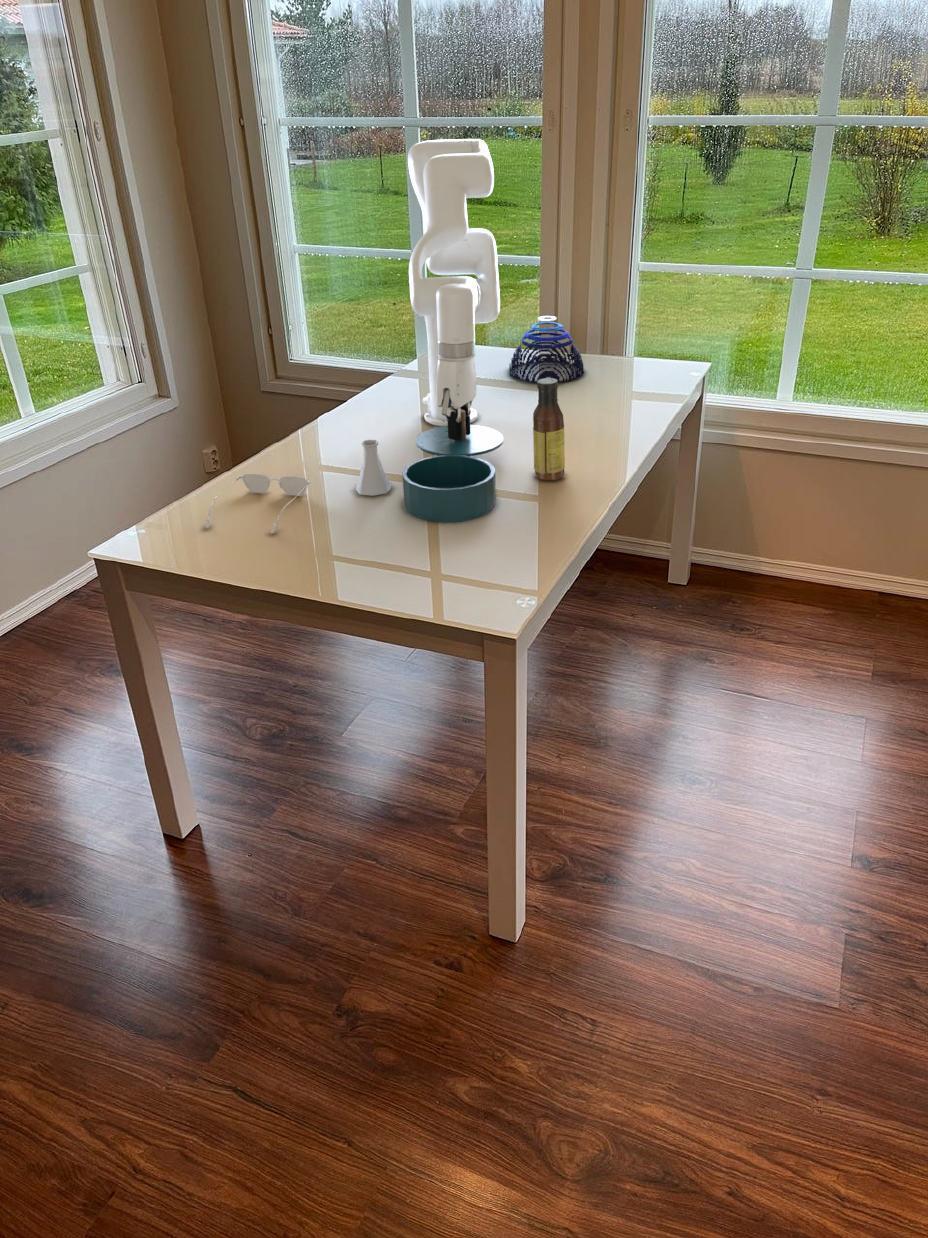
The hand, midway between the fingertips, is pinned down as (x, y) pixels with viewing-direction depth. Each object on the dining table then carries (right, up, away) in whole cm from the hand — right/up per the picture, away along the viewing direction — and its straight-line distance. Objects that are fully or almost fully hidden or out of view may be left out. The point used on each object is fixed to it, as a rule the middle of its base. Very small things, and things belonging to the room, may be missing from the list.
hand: (459, 435), depth 200 cm
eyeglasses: (-39, -18, -18) cm, 46 cm away
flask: (-17, -13, -10) cm, 24 cm away
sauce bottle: (+18, -10, -6) cm, 22 cm away
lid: (0, -1, +1) cm, 1 cm away
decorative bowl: (+23, +28, +56) cm, 67 cm away
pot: (-2, -16, -16) cm, 23 cm away
